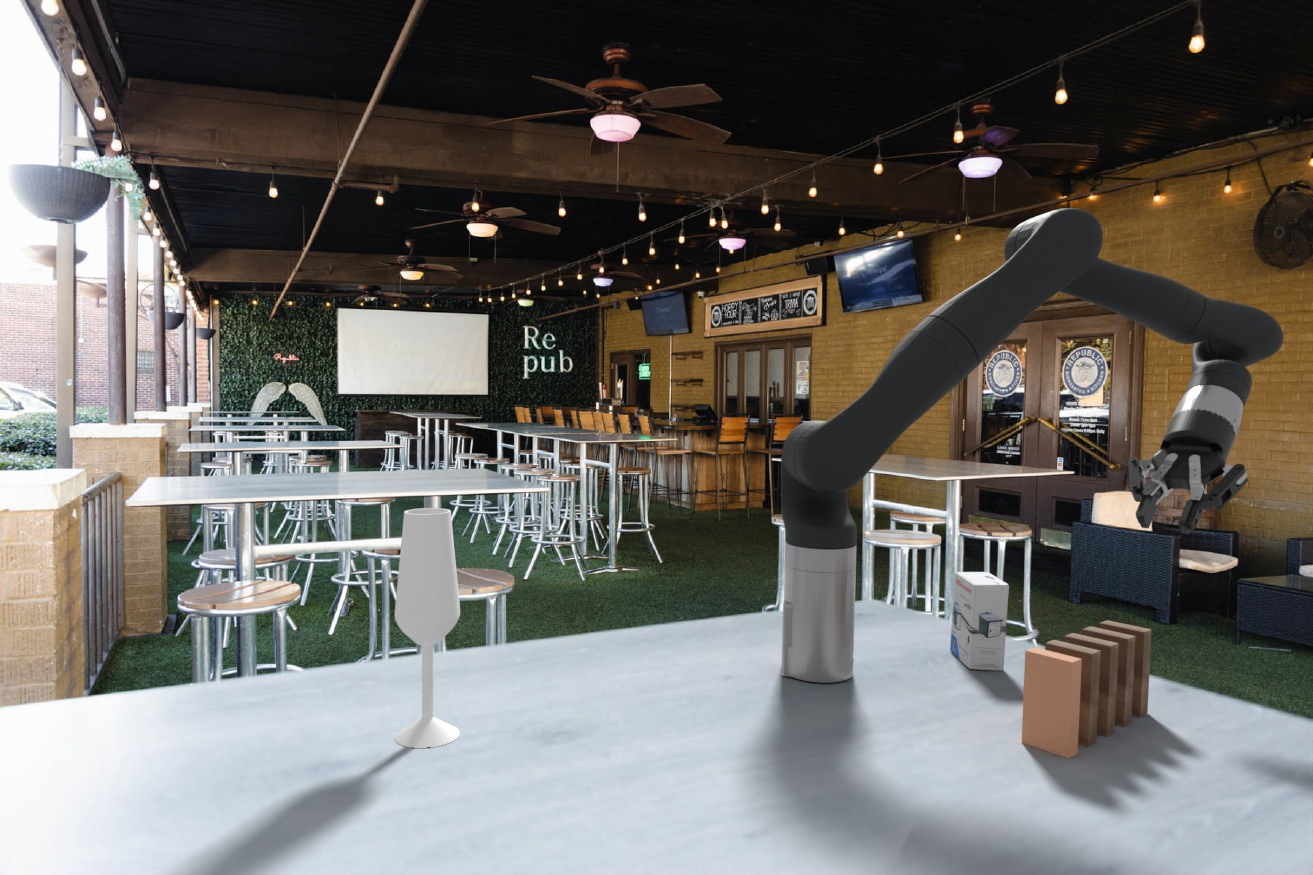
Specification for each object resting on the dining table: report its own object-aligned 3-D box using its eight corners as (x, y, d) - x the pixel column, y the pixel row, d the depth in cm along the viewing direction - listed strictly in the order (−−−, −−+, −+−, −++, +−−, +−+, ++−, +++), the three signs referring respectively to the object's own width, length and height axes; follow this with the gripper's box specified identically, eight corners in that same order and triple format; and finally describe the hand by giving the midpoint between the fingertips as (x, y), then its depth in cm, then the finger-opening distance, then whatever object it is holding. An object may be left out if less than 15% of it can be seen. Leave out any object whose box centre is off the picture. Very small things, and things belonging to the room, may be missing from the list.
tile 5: (1030, 737, 93) (1034, 647, 92) (1077, 753, 89) (1081, 658, 88) (1021, 742, 92) (1025, 650, 91) (1068, 758, 88) (1072, 662, 87)
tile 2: (1086, 709, 102) (1090, 626, 101) (1131, 722, 98) (1135, 635, 97) (1078, 713, 100) (1082, 629, 100) (1124, 726, 96) (1128, 639, 96)
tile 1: (1103, 701, 104) (1106, 620, 104) (1147, 713, 101) (1151, 629, 100) (1095, 704, 103) (1099, 622, 103) (1140, 717, 99) (1144, 632, 99)
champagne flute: (428, 718, 96) (428, 505, 94) (473, 731, 92) (473, 510, 91) (380, 738, 90) (380, 512, 89) (427, 753, 87) (426, 518, 85)
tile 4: (1050, 727, 96) (1054, 639, 95) (1096, 742, 92) (1100, 650, 91) (1041, 731, 95) (1045, 642, 94) (1088, 746, 91) (1092, 654, 90)
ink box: (949, 651, 124) (951, 570, 123) (984, 651, 124) (987, 571, 123) (969, 670, 115) (972, 584, 115) (1007, 671, 115) (1010, 584, 114)
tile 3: (1069, 718, 99) (1072, 632, 98) (1114, 732, 95) (1118, 643, 94) (1060, 722, 97) (1064, 635, 97) (1106, 736, 94) (1110, 646, 93)
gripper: (1138, 406, 117) (1095, 500, 110) (1261, 408, 106) (1222, 514, 99) (1151, 443, 121) (1111, 537, 114) (1272, 450, 110) (1235, 554, 103)
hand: (1163, 526), depth 106 cm, fingers open, 4 cm apart
